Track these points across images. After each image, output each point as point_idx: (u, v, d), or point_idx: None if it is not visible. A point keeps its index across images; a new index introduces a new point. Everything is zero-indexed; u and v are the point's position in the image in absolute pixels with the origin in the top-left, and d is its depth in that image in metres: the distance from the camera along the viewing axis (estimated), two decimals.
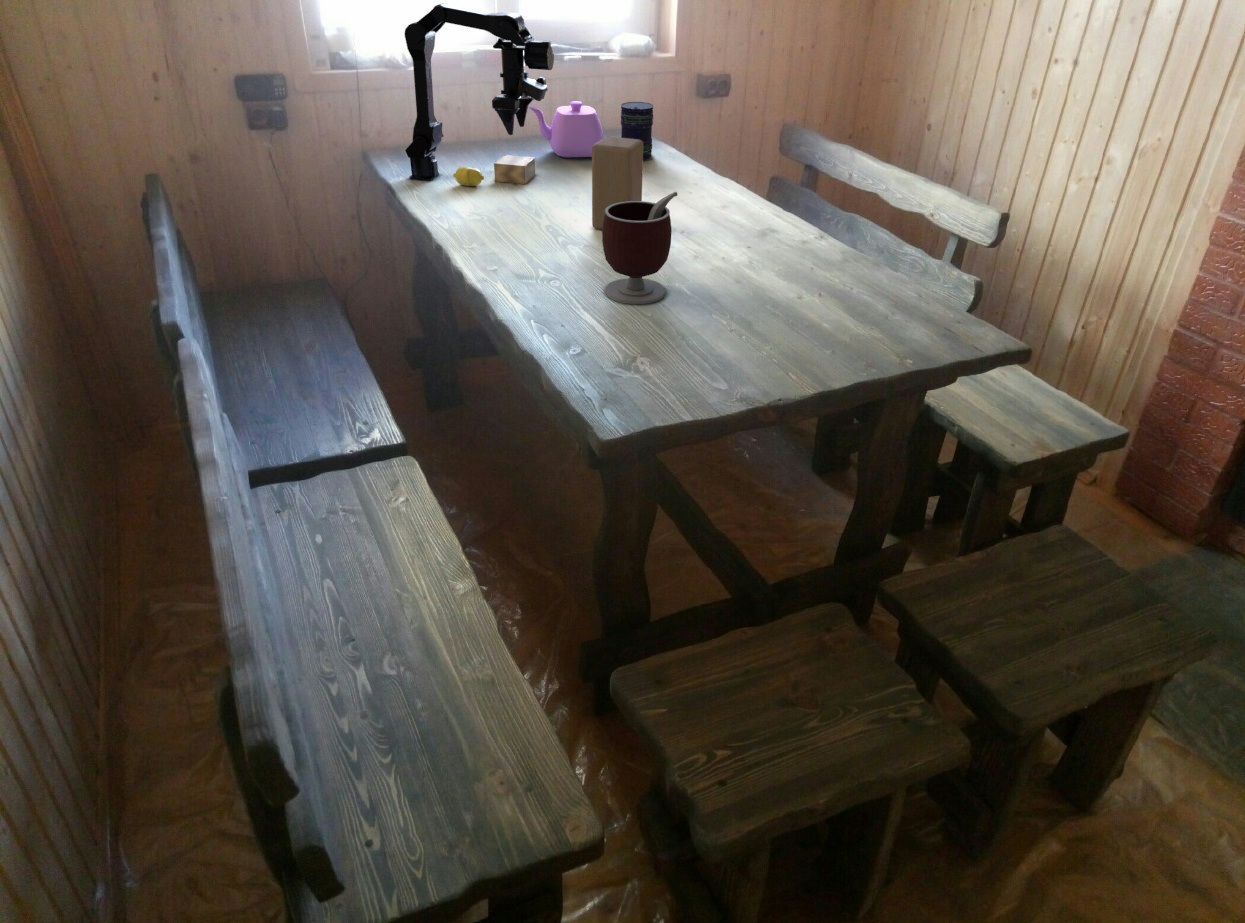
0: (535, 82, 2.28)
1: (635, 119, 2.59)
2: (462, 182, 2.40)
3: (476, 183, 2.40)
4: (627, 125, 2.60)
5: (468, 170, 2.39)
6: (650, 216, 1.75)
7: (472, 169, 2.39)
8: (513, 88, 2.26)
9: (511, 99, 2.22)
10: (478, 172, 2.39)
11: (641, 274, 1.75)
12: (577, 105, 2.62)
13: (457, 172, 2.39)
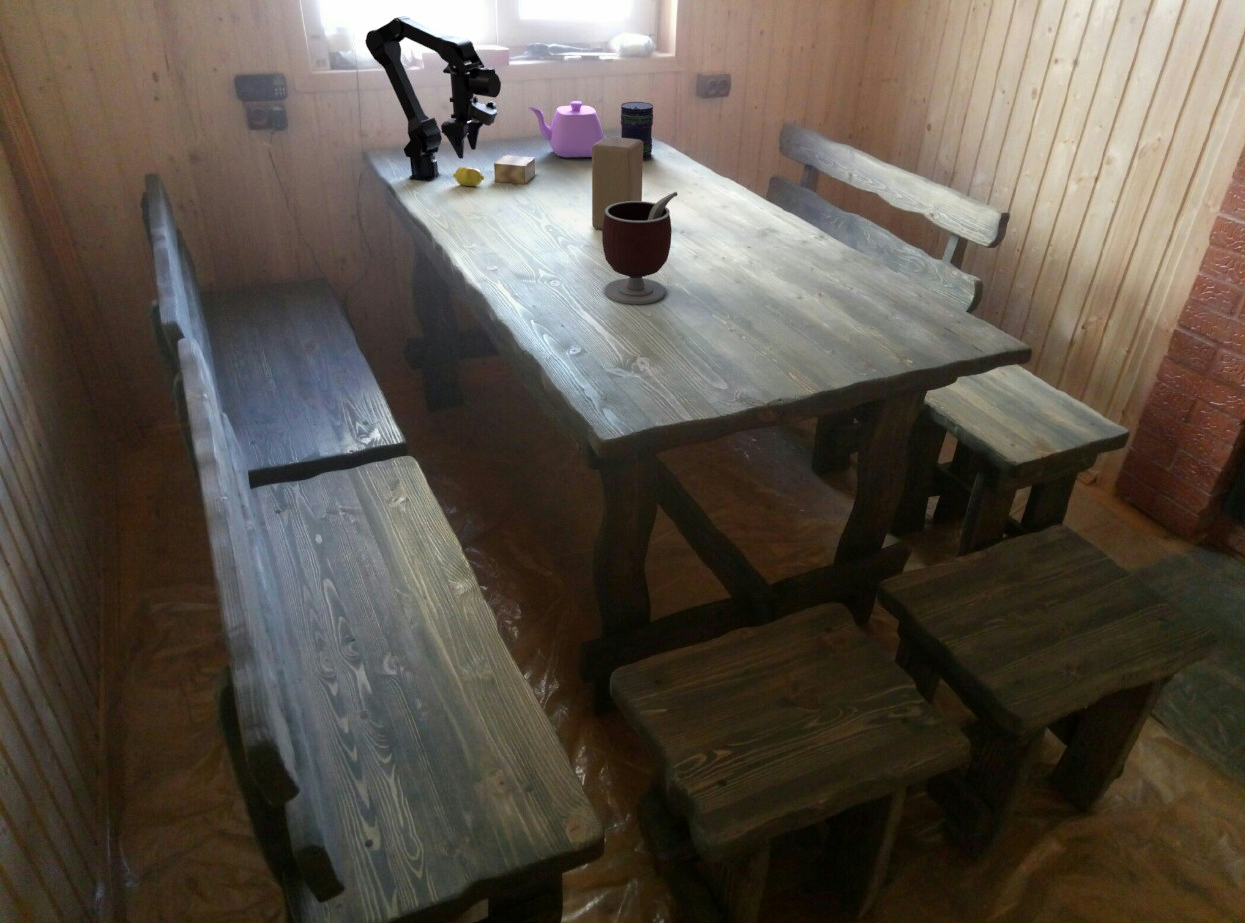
0: (485, 107, 2.30)
1: (635, 119, 2.59)
2: (462, 182, 2.40)
3: (476, 183, 2.40)
4: (627, 125, 2.60)
5: (468, 170, 2.39)
6: (650, 216, 1.75)
7: (472, 169, 2.39)
8: (463, 113, 2.29)
9: (460, 124, 2.24)
10: (478, 172, 2.39)
11: (641, 274, 1.75)
12: (577, 105, 2.62)
13: (457, 172, 2.39)
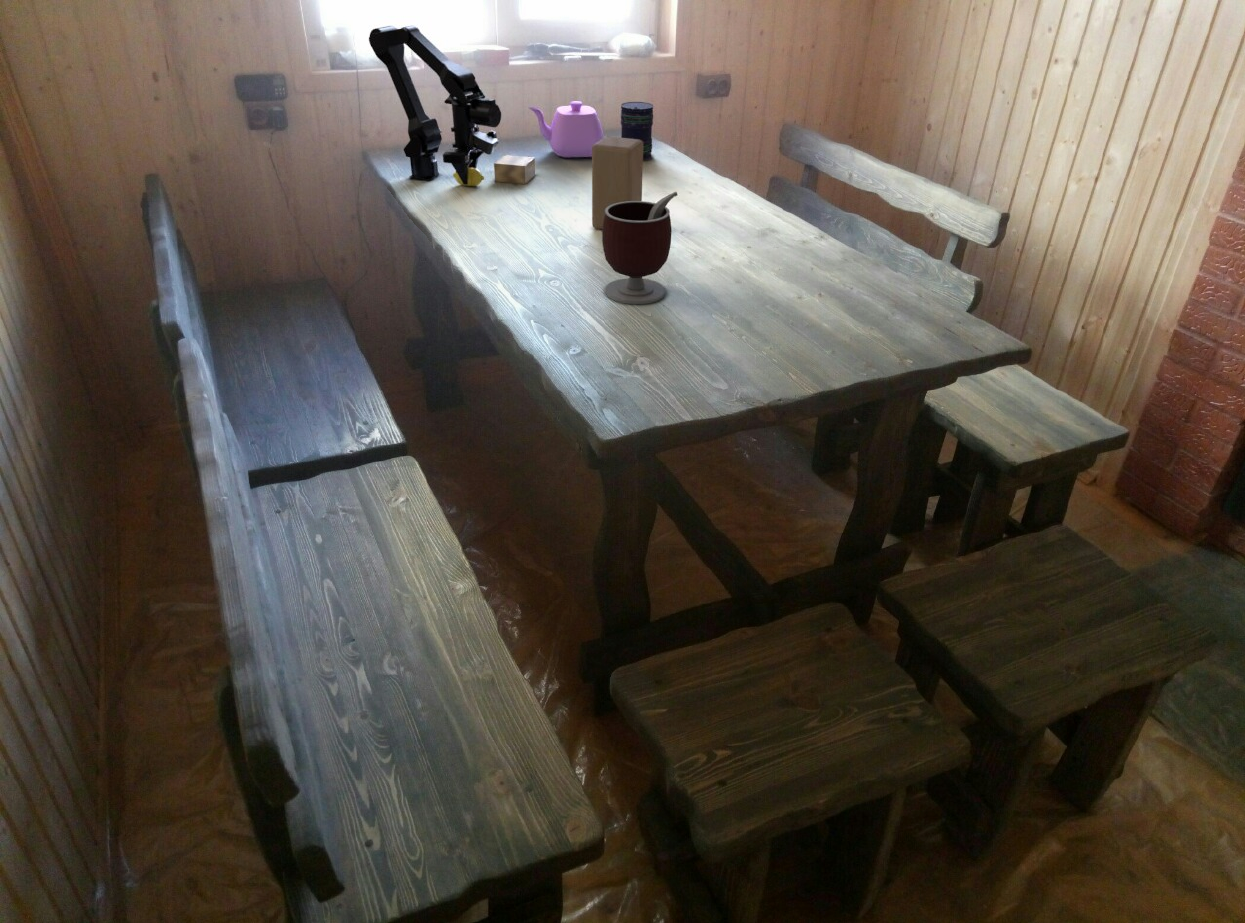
0: (485, 136, 2.34)
1: (635, 119, 2.59)
2: (462, 182, 2.40)
3: (476, 183, 2.40)
4: (627, 125, 2.60)
5: (468, 170, 2.39)
6: (650, 216, 1.75)
7: (472, 169, 2.39)
8: (464, 142, 2.33)
9: (461, 154, 2.29)
10: (478, 172, 2.39)
11: (641, 274, 1.75)
12: (577, 105, 2.62)
13: None
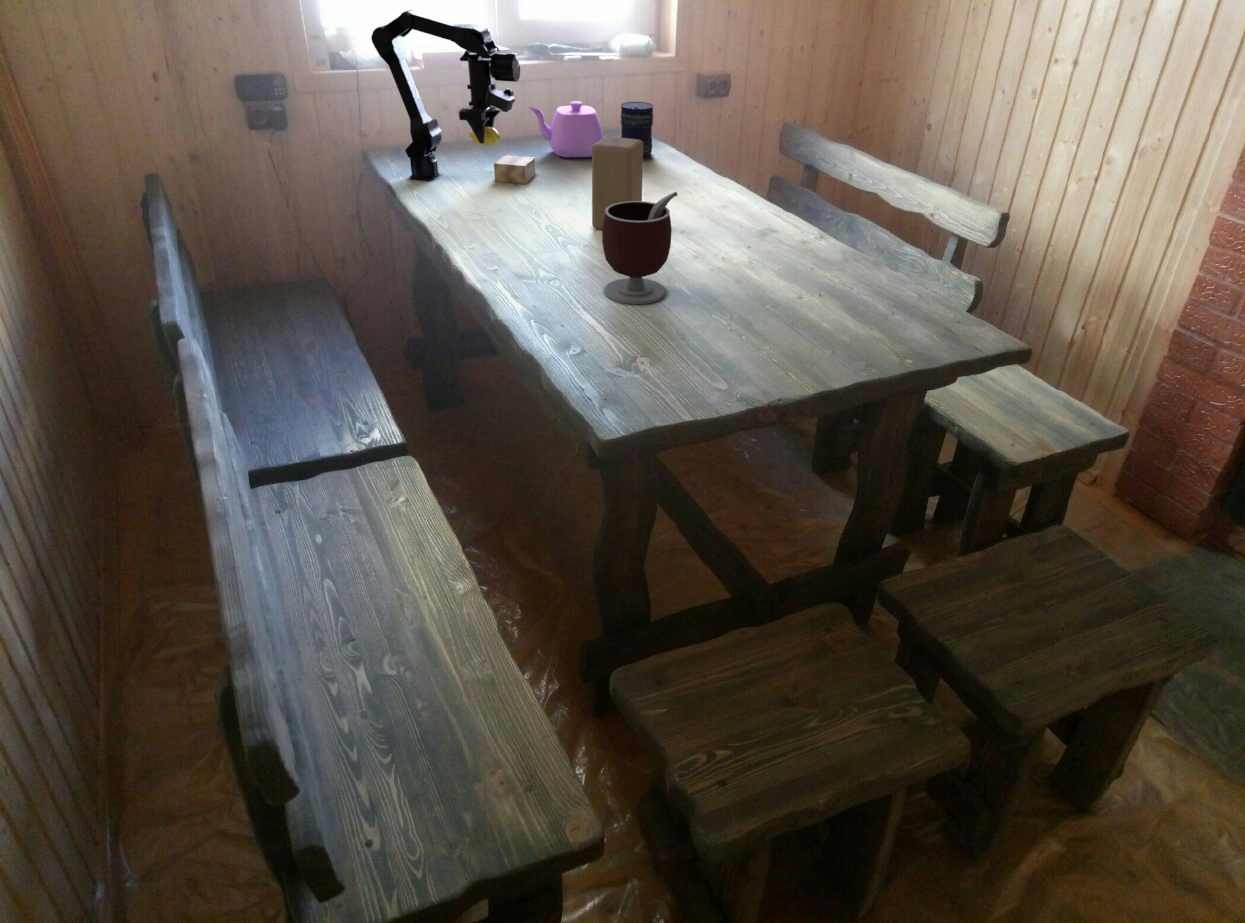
0: (502, 93, 2.31)
1: (635, 119, 2.59)
2: (478, 142, 2.37)
3: (492, 142, 2.36)
4: (627, 125, 2.60)
5: None
6: (650, 216, 1.75)
7: (488, 128, 2.35)
8: (480, 100, 2.30)
9: (477, 110, 2.25)
10: (495, 131, 2.36)
11: (641, 274, 1.75)
12: (577, 105, 2.62)
13: None
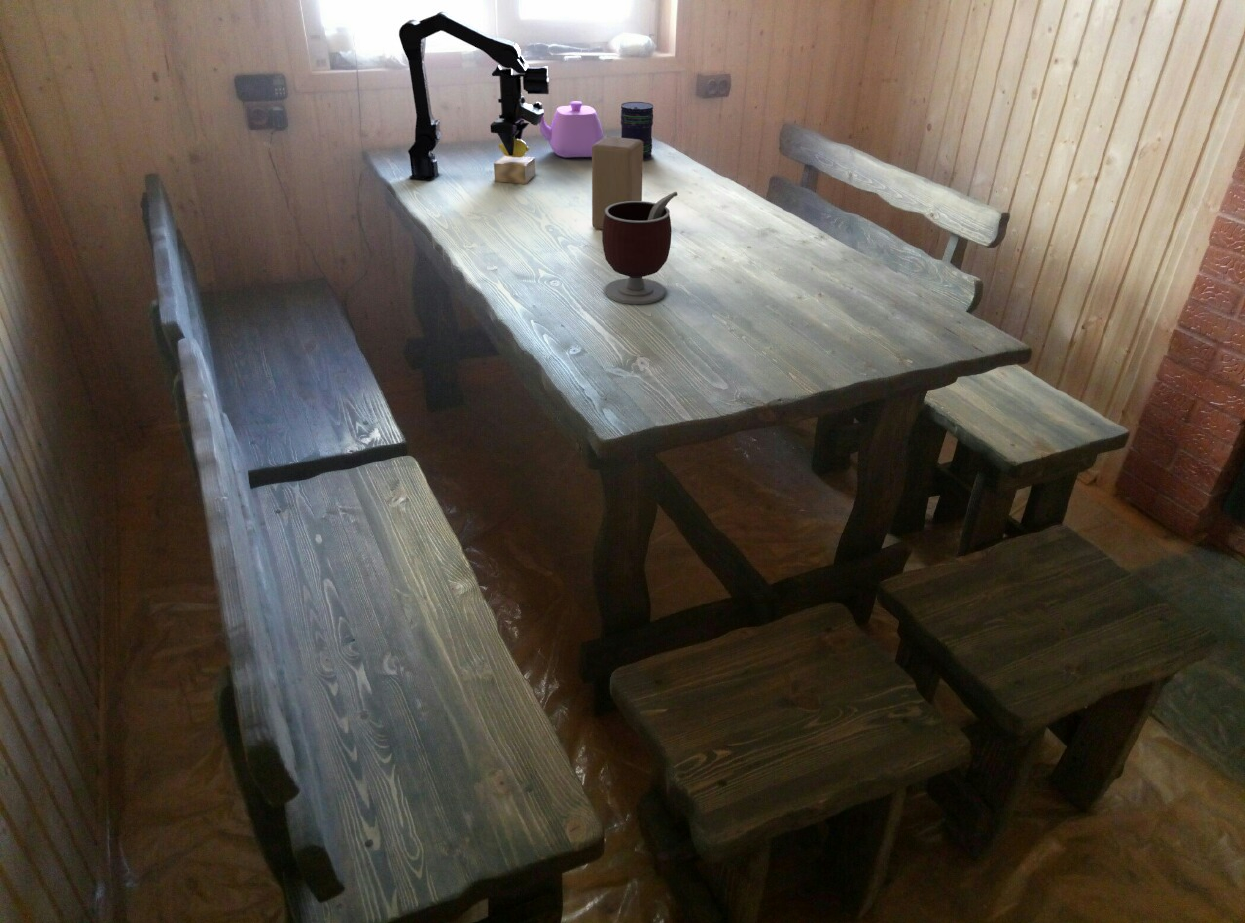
0: (532, 107, 2.37)
1: (635, 119, 2.59)
2: (507, 153, 2.43)
3: (521, 154, 2.43)
4: (627, 125, 2.60)
5: (514, 141, 2.42)
6: (650, 216, 1.75)
7: (518, 140, 2.42)
8: (511, 113, 2.36)
9: (509, 124, 2.32)
10: (524, 143, 2.42)
11: (641, 274, 1.75)
12: (577, 105, 2.62)
13: None
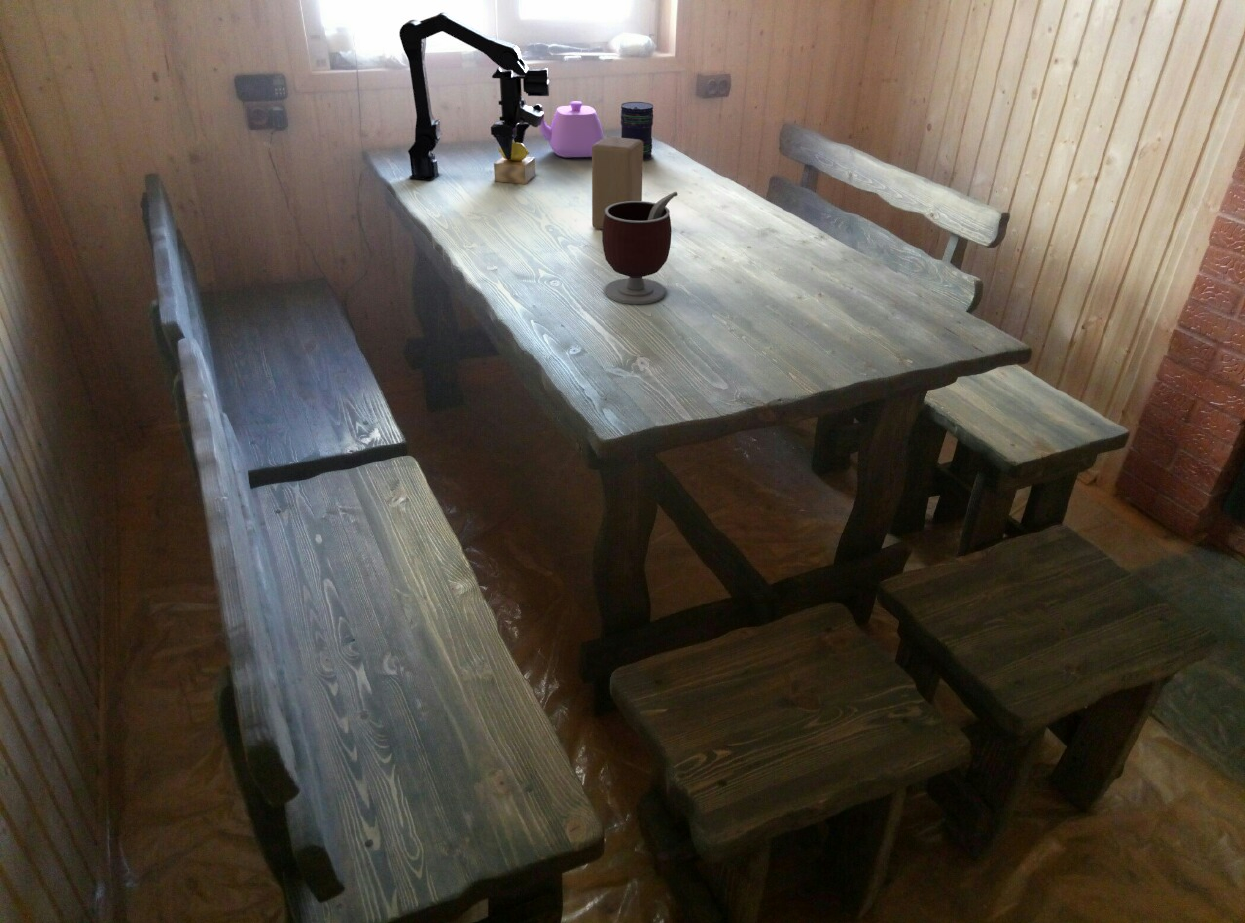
0: (532, 109, 2.38)
1: (635, 119, 2.59)
2: None
3: (522, 158, 2.43)
4: (627, 125, 2.60)
5: (514, 145, 2.42)
6: (650, 216, 1.75)
7: (518, 144, 2.42)
8: (511, 115, 2.36)
9: (509, 126, 2.32)
10: (524, 147, 2.43)
11: (641, 274, 1.75)
12: (577, 105, 2.62)
13: None
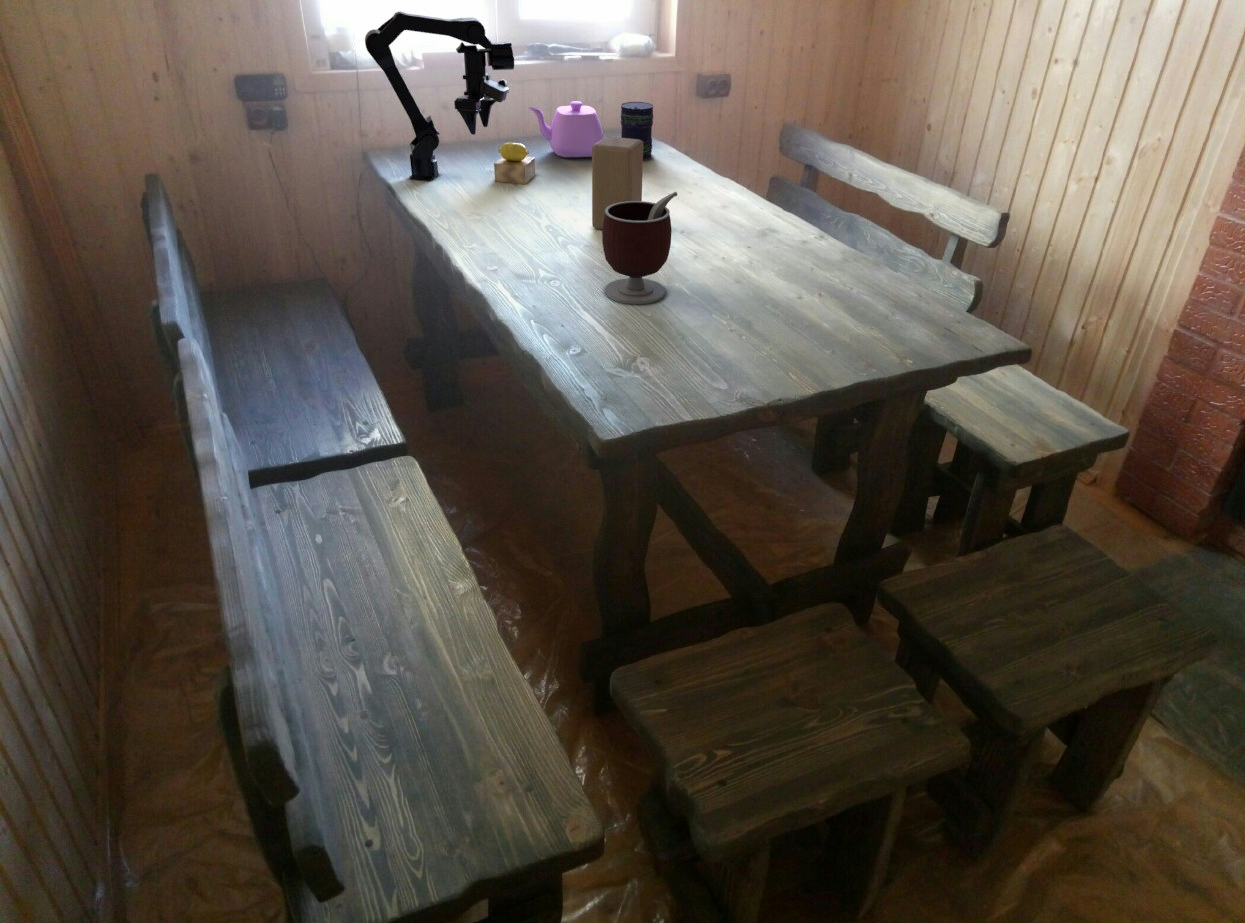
0: (496, 84, 2.38)
1: (635, 119, 2.59)
2: (507, 158, 2.44)
3: (521, 159, 2.43)
4: (627, 125, 2.60)
5: (513, 146, 2.42)
6: (650, 216, 1.75)
7: (517, 145, 2.42)
8: (475, 90, 2.37)
9: (472, 100, 2.32)
10: (523, 148, 2.42)
11: (641, 274, 1.75)
12: (577, 105, 2.62)
13: (502, 149, 2.42)
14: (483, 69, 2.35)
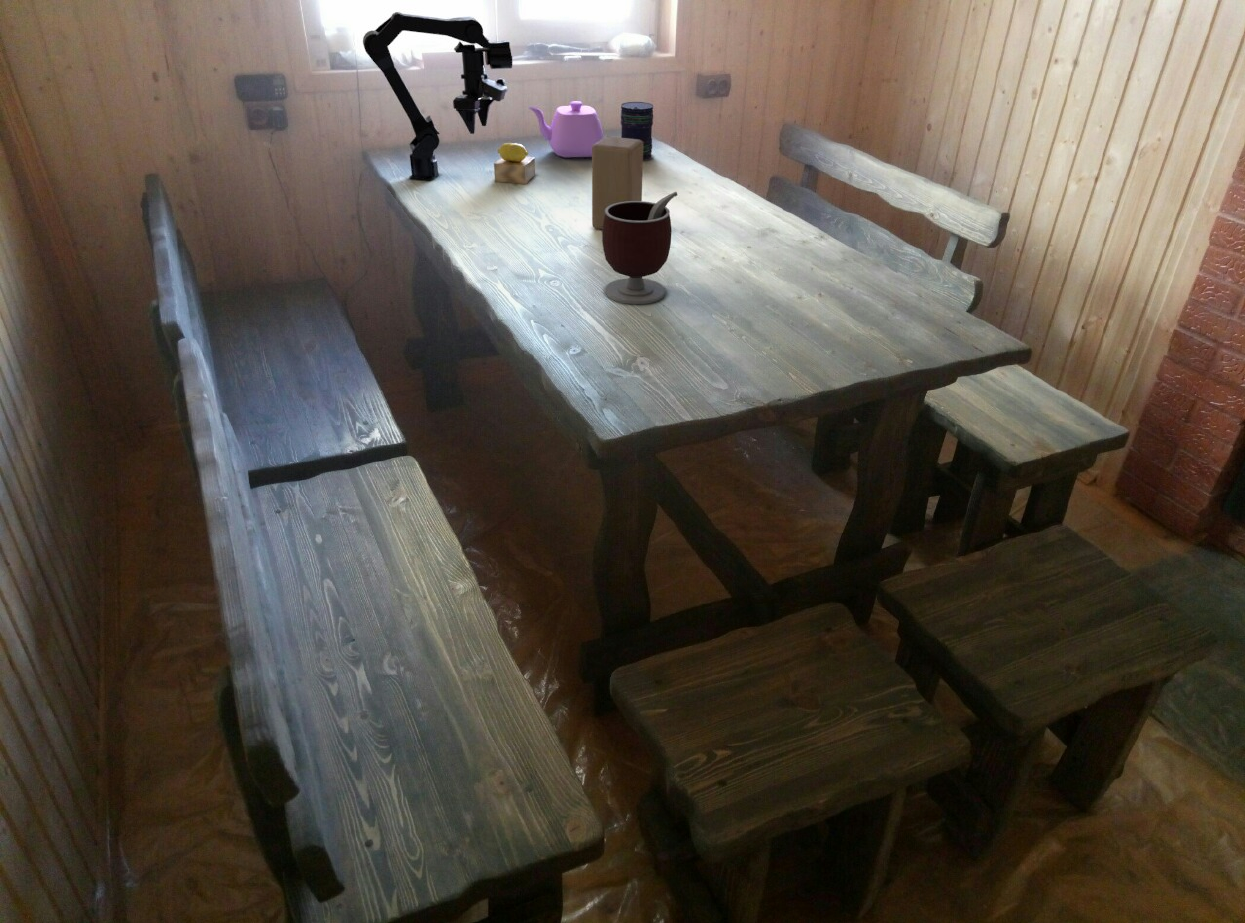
0: (495, 83, 2.38)
1: (635, 119, 2.59)
2: (507, 160, 2.44)
3: (521, 160, 2.43)
4: (627, 125, 2.60)
5: (512, 149, 2.41)
6: (650, 216, 1.75)
7: (516, 147, 2.41)
8: (474, 89, 2.37)
9: (471, 99, 2.32)
10: (522, 150, 2.41)
11: (641, 274, 1.75)
12: (577, 105, 2.62)
13: (501, 151, 2.42)
14: (481, 68, 2.35)
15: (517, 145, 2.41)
